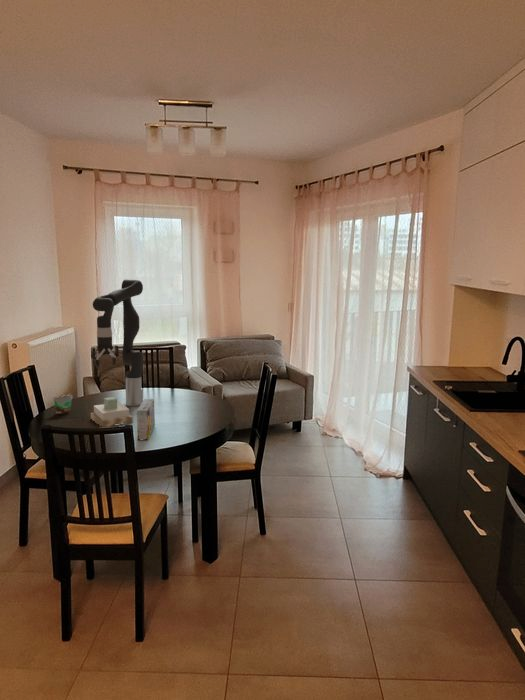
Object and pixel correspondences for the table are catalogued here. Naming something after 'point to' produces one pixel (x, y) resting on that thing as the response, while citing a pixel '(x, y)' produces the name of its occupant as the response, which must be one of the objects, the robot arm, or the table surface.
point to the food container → (63, 404)
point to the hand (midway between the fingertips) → (105, 365)
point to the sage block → (110, 403)
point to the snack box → (145, 419)
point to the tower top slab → (111, 412)
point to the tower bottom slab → (112, 421)
